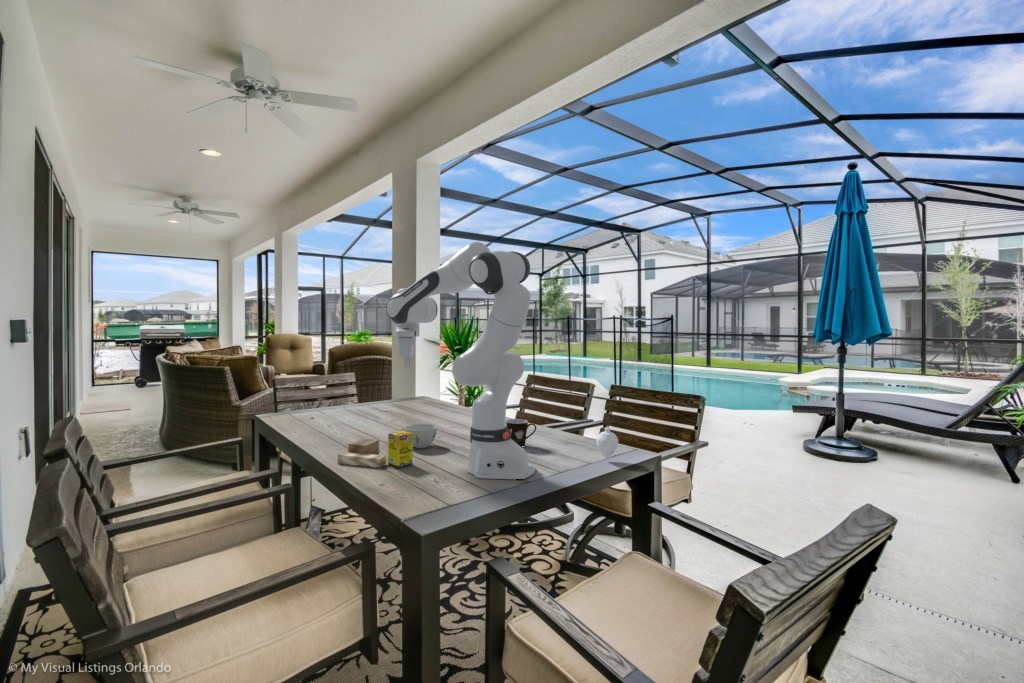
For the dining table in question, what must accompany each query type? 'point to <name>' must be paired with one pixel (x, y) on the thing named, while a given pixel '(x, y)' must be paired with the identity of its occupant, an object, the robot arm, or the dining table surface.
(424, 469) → the dining table surface
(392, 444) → the supplement box
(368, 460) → the beige long bar
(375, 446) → the block
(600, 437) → the spinning top
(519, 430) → the coffee mug
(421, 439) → the teacup
